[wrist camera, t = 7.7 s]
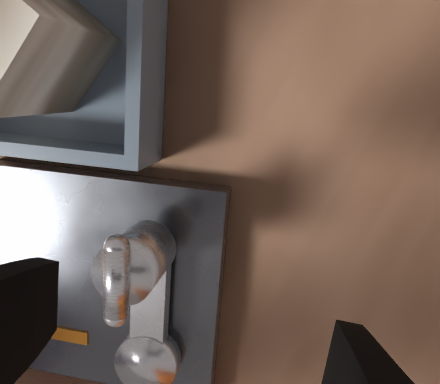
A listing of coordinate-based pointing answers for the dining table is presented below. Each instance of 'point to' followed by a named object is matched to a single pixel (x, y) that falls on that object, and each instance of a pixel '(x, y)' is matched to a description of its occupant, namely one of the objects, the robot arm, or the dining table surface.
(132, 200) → the crank plate
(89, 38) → the block
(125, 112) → the tray
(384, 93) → the dining table surface
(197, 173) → the dining table surface
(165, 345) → the crank
